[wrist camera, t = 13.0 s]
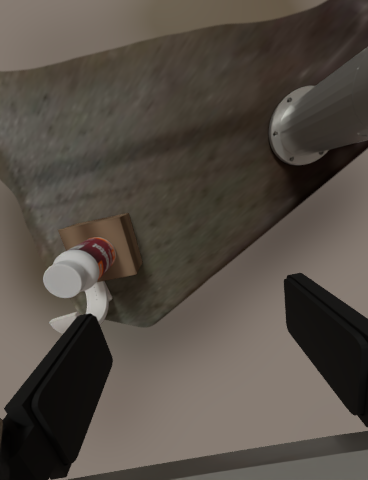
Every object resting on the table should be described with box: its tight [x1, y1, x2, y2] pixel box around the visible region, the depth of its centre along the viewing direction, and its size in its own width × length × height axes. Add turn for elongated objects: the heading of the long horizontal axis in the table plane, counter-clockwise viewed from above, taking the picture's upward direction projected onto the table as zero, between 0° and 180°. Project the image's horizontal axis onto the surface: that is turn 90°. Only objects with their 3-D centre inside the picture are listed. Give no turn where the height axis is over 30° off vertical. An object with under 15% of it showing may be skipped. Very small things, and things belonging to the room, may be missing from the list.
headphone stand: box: [49, 281, 112, 334], centre depth 37 cm, size 5×6×12 cm
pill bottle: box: [43, 237, 116, 298], centre depth 28 cm, size 6×6×11 cm
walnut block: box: [58, 213, 142, 282], centre depth 36 cm, size 11×11×6 cm
